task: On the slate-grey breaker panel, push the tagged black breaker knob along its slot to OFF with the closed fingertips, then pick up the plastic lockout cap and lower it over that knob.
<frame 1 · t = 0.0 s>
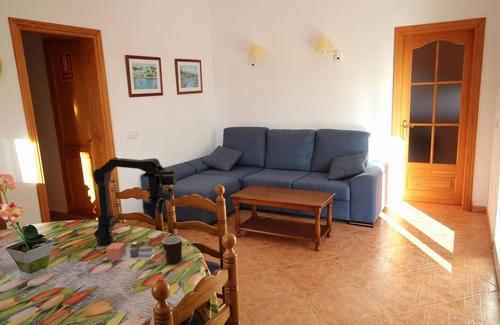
hand: (157, 216, 183), 15 cm above the table, fingers open, 9 cm apart
lockout cap: (116, 256, 173), point 1 cm above the table, touching breaker panel
breaker A knob: (135, 246, 177), point 3 cm above the table, slide at 0.0 cm
breaker panel: (133, 255, 175), on the table
coffee mug: (174, 260, 169), on the table
breaker B knob: (134, 252, 171), point 3 cm above the table, slide at 0.0 cm
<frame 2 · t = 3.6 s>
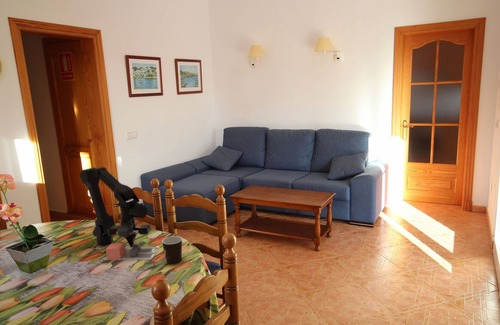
hand: (131, 247, 178), 3 cm above the table, fingers closed
breaker A knob: (136, 246, 177), point 3 cm above the table, slide at 0.9 cm, touching gripper
everything else where it was.
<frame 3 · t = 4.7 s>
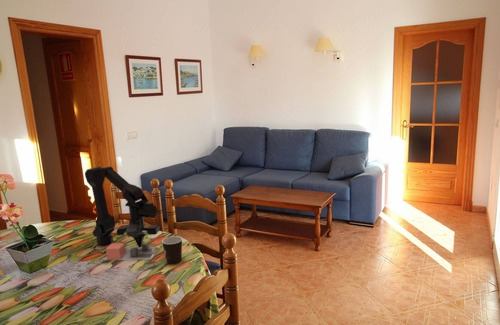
hand: (140, 247, 177), 3 cm above the table, fingers closed
breaker A knob: (145, 246, 177), point 3 cm above the table, slide at 5.0 cm, touching gripper
everything else where it was.
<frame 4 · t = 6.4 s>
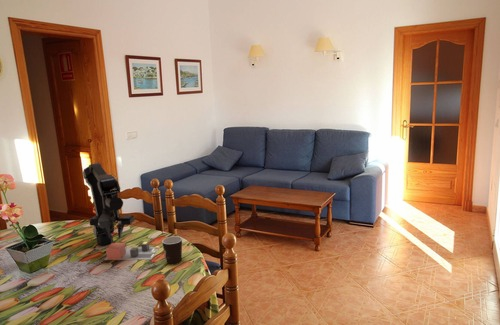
hand: (114, 238, 171), 10 cm above the table, fingers open, 5 cm apart
breaker A knob: (145, 246, 177), point 3 cm above the table, slide at 5.0 cm
everything else where it was.
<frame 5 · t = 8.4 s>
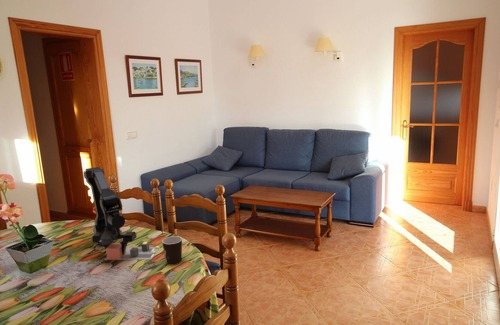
hand: (116, 254, 173), 2 cm above the table, fingers closed on lockout cap, 6 cm apart
lockout cap: (116, 256, 173), point 1 cm above the table, touching breaker panel, gripper
everything else where it was.
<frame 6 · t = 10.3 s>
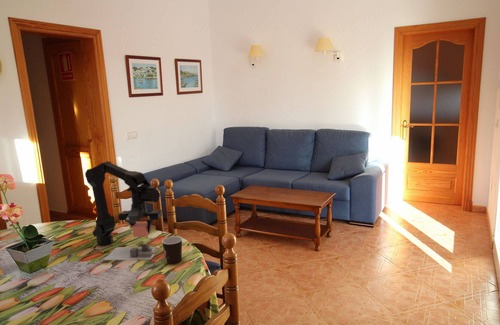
hand: (142, 232, 176), 10 cm above the table, fingers closed on lockout cap, 6 cm apart
lockout cap: (142, 234, 176), point 9 cm above the table, touching gripper
everything else where it was.
when the fingers open (3 cm above the table, at t = 12.0 s): lockout cap stays where it is, resting on breaker panel.
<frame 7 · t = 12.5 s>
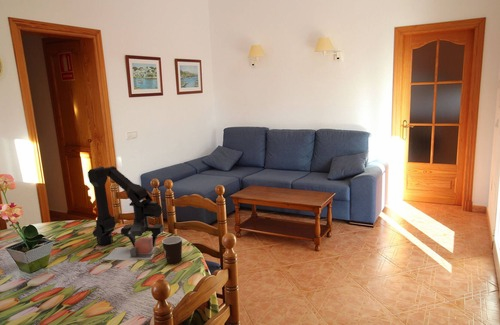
hand: (144, 246, 177), 3 cm above the table, fingers open, 9 cm apart
lockout cap: (144, 250, 177), point 1 cm above the table, touching breaker panel
everything else where it was.
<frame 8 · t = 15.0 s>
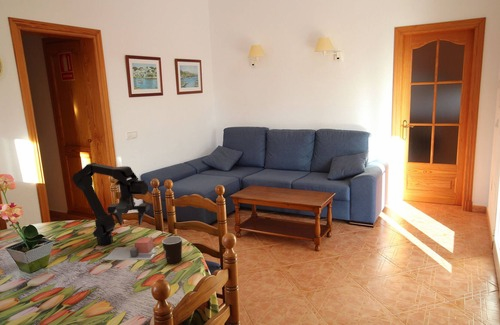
hand: (130, 225, 180), 12 cm above the table, fingers open, 9 cm apart
nothing on the table moved.
at the end: breaker A knob slide at 5.0 cm; lockout cap 0.5 cm from the breaker A knob (horizontally); lockout cap point 1.3 cm above the table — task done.
